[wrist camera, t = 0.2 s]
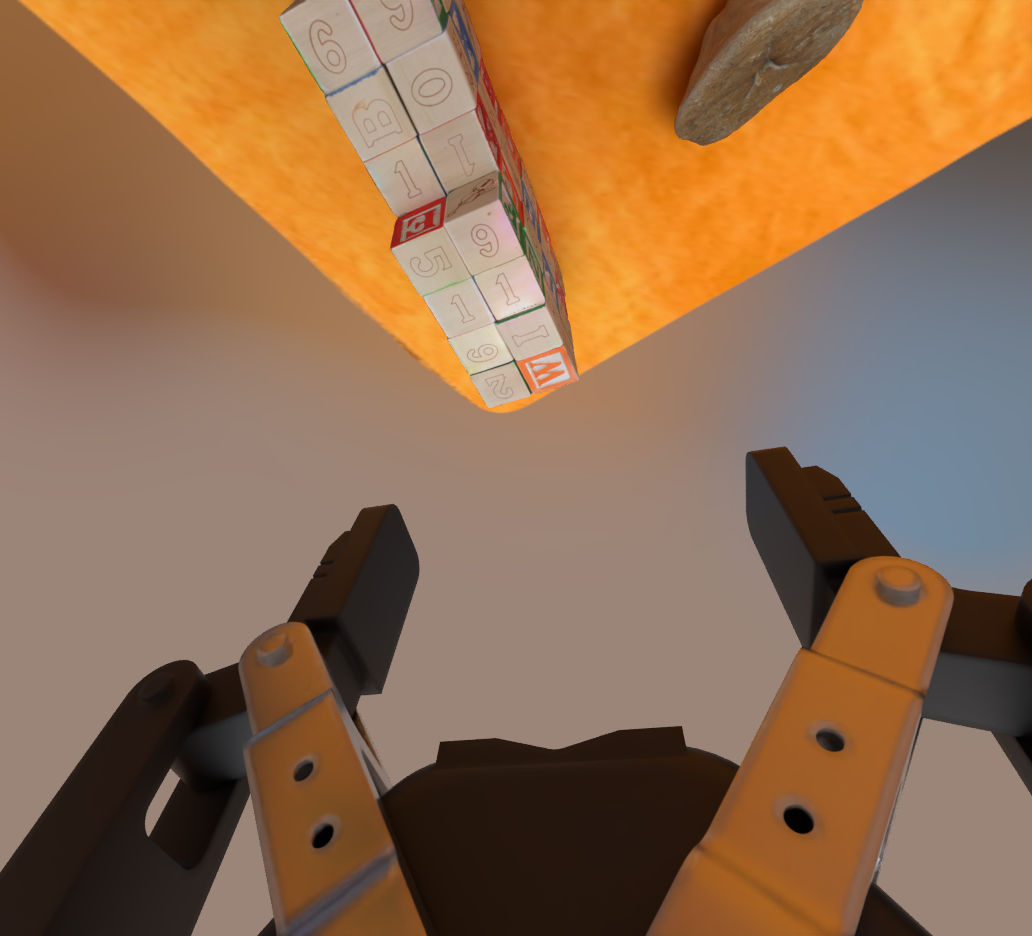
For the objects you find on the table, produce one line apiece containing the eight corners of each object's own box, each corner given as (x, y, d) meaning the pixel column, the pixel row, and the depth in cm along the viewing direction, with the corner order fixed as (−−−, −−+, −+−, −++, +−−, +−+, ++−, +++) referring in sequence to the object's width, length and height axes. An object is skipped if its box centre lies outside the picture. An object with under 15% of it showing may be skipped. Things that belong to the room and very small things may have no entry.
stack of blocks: (321, -31, 28) (253, 32, 20) (429, -96, 26) (400, -54, 18) (489, 303, 43) (488, 412, 36) (564, 276, 42) (580, 384, 34)
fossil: (656, 144, 29) (847, -50, 22) (618, 76, 30) (795, -139, 22) (724, 157, 35) (892, 8, 28) (692, 100, 36) (850, -63, 28)
